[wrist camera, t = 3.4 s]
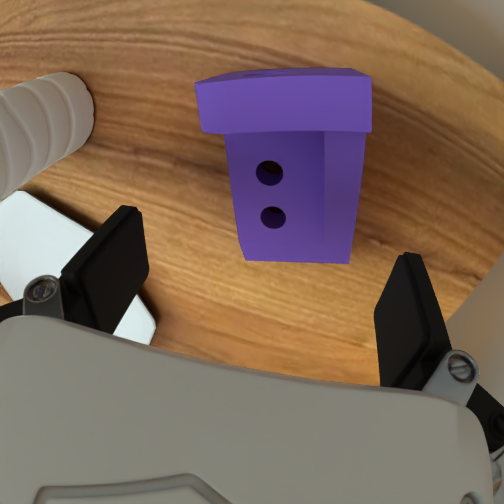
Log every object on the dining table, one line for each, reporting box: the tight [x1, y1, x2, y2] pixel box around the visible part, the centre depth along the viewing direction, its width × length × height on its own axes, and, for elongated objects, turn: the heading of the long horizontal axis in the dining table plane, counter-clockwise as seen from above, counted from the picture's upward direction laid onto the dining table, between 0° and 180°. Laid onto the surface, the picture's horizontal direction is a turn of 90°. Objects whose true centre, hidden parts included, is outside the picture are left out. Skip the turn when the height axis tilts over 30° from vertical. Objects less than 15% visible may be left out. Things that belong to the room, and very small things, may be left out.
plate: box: [0, 190, 157, 345], centre depth 30 cm, size 24×24×2 cm
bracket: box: [194, 68, 372, 264], centre depth 16 cm, size 12×7×7 cm, turn 6°
